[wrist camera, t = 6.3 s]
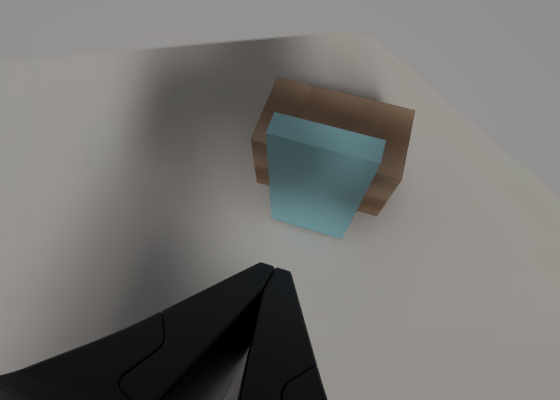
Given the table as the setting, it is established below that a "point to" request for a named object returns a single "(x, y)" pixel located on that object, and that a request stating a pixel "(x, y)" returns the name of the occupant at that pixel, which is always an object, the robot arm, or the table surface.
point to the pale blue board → (318, 173)
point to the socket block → (344, 115)
